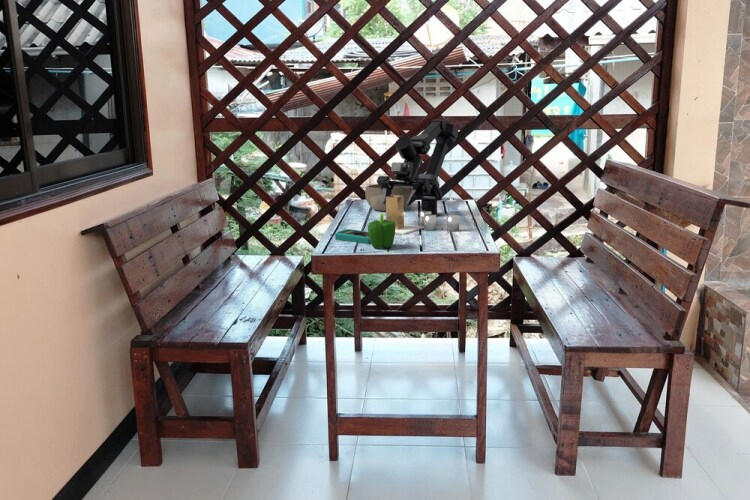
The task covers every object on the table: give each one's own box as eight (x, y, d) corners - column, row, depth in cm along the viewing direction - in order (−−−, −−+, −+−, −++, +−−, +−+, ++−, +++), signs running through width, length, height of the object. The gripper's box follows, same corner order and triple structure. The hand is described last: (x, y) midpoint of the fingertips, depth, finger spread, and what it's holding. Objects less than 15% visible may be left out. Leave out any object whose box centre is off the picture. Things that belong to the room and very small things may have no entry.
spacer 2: (428, 228, 223) (428, 213, 222) (438, 229, 221) (438, 214, 220) (422, 230, 220) (421, 215, 219) (432, 231, 218) (432, 216, 216)
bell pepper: (390, 251, 192) (389, 217, 190) (364, 249, 196) (363, 216, 193) (400, 244, 200) (399, 212, 198) (375, 243, 203) (374, 211, 201)
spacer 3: (451, 228, 221) (451, 214, 219) (461, 230, 218) (461, 215, 217) (445, 231, 218) (445, 216, 216) (455, 232, 215) (455, 217, 214)
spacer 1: (424, 223, 230) (424, 210, 229) (433, 225, 227) (433, 211, 226) (417, 225, 227) (417, 211, 226) (426, 227, 224) (426, 213, 223)
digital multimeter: (370, 246, 201) (370, 237, 201) (334, 240, 210) (333, 231, 209) (384, 241, 207) (384, 232, 206) (348, 236, 216) (348, 227, 215)
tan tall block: (392, 226, 225) (392, 195, 222) (404, 227, 223) (403, 195, 220) (386, 228, 221) (385, 196, 219) (398, 229, 219) (397, 197, 216)
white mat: (390, 224, 232) (390, 222, 232) (423, 227, 224) (423, 226, 223) (370, 230, 222) (370, 228, 222) (404, 234, 214) (404, 232, 214)
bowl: (372, 205, 271) (371, 181, 269) (414, 206, 266) (413, 182, 264) (360, 213, 255) (359, 187, 253) (404, 214, 250) (404, 188, 248)
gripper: (378, 152, 226) (363, 188, 219) (426, 153, 216) (412, 191, 210) (389, 172, 234) (375, 207, 228) (437, 174, 225) (423, 211, 218)
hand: (395, 204), depth 221 cm, fingers open, 9 cm apart
